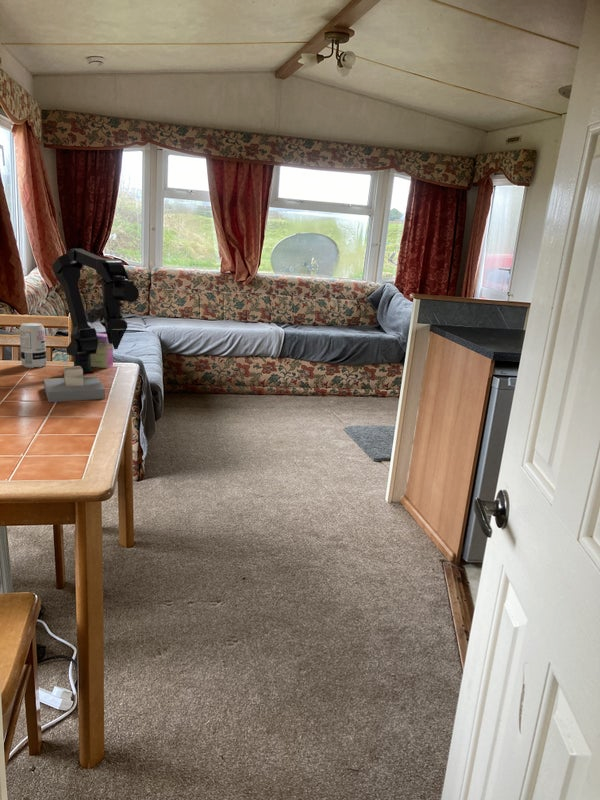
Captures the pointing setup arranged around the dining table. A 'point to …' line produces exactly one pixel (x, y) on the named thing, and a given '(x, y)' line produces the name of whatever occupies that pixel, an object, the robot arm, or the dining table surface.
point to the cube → (73, 376)
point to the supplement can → (32, 345)
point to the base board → (73, 390)
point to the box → (102, 353)
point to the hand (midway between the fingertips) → (113, 346)
